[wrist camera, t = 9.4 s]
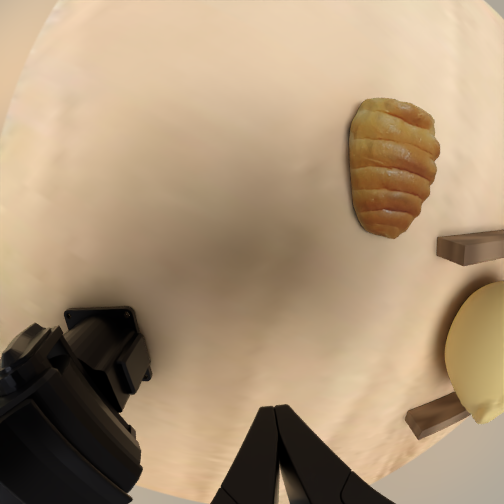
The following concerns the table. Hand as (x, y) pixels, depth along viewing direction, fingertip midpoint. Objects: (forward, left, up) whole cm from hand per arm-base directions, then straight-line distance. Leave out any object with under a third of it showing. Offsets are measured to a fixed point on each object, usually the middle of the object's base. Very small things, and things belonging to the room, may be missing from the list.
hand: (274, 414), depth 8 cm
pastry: (+10, +8, -13) cm, 18 cm away
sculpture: (+21, -8, -12) cm, 26 cm away
